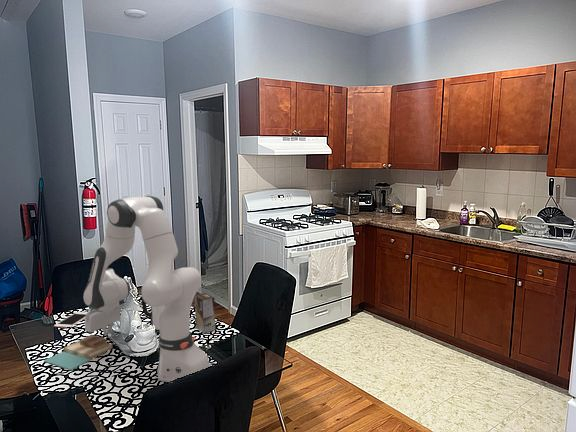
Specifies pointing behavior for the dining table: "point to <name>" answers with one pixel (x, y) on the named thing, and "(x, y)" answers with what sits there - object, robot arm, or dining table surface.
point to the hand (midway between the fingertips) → (107, 333)
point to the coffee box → (205, 312)
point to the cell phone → (71, 320)
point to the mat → (66, 360)
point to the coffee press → (153, 313)
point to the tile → (92, 341)
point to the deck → (87, 350)
